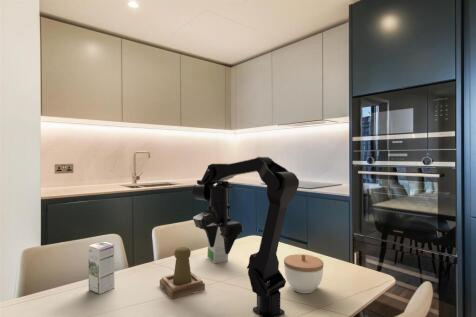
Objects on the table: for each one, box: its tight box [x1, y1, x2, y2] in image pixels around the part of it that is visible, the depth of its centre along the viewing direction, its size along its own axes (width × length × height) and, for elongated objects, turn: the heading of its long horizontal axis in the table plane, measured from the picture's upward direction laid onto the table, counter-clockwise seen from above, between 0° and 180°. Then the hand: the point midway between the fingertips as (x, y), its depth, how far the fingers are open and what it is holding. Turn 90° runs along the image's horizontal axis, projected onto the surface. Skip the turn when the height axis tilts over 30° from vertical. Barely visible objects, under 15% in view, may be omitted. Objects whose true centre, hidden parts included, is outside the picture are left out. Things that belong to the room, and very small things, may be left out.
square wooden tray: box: [159, 271, 206, 300], centre depth 96 cm, size 11×11×3 cm
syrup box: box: [87, 241, 115, 295], centre depth 94 cm, size 6×6×14 cm
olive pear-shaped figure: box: [173, 246, 192, 285], centre depth 96 cm, size 6×6×11 cm
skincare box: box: [207, 227, 229, 264], centre depth 122 cm, size 8×7×16 cm
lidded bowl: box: [283, 253, 324, 294], centre depth 96 cm, size 13×13×11 cm
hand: (219, 250), depth 95 cm, fingers open, 9 cm apart
